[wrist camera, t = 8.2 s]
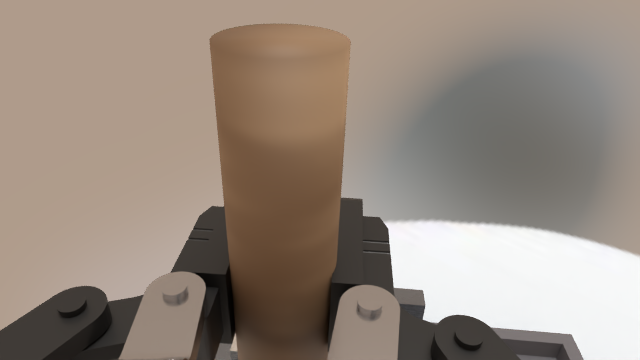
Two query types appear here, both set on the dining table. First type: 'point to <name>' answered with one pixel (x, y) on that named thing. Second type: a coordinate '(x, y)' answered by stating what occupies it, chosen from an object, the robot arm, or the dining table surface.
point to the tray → (539, 344)
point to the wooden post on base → (281, 180)
